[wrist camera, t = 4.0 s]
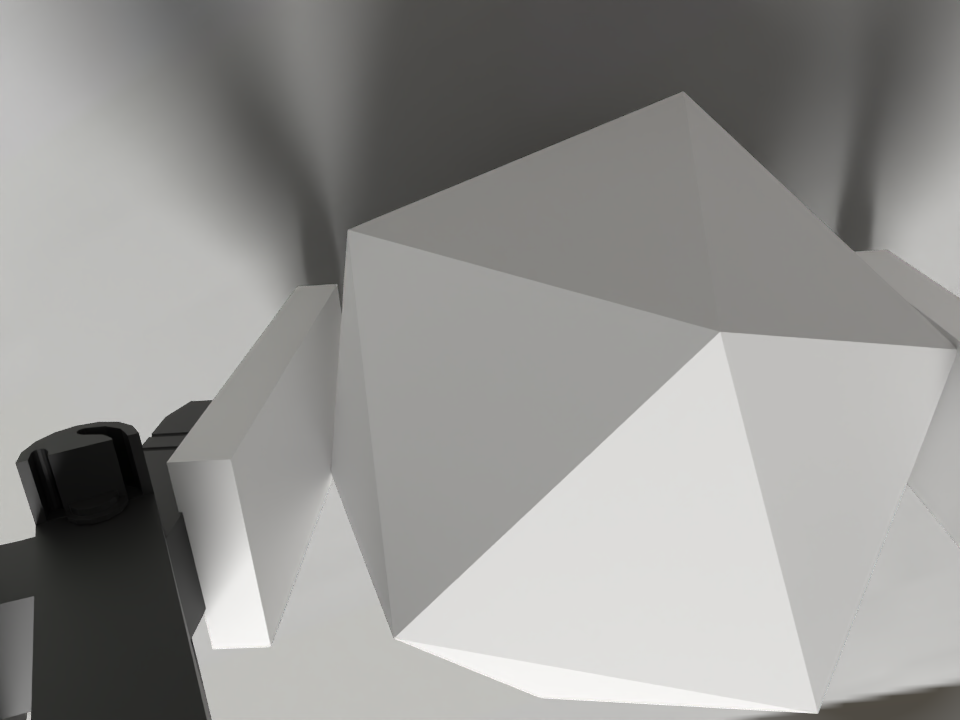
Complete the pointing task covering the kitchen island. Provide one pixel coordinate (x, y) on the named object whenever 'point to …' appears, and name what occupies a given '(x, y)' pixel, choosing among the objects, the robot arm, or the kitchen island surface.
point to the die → (627, 420)
